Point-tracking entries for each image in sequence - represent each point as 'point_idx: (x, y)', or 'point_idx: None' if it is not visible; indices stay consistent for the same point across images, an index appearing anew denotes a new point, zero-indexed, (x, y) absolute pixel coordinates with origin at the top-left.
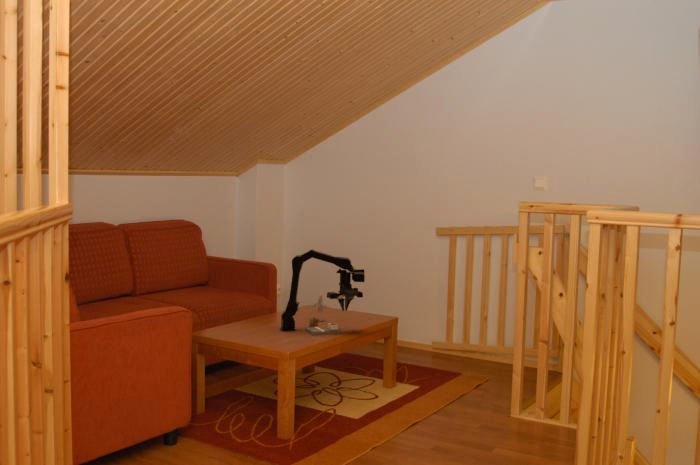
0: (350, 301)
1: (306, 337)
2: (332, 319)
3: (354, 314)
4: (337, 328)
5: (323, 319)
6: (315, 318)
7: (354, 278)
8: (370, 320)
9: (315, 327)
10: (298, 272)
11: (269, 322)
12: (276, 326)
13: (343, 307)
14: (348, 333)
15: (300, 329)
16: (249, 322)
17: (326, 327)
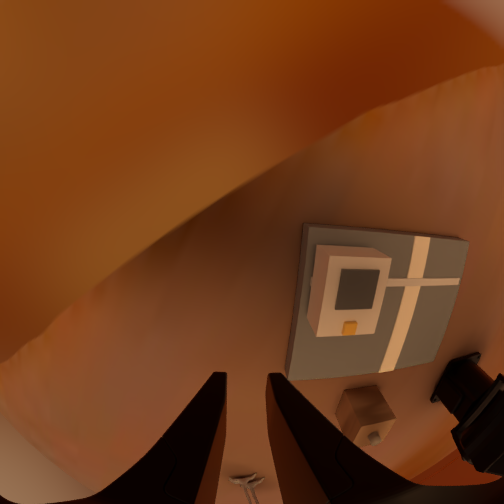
0: (101, 491)
1: (491, 204)
2: None
3: (93, 479)
4: (325, 247)
5: (233, 482)
6: (362, 438)
7: None
8: (41, 412)
9: (398, 354)
10: None
11: (412, 459)
12: (441, 419)
13: (292, 408)
14: (241, 191)
15: (424, 374)
16: (444, 451)
17: (342, 347)
